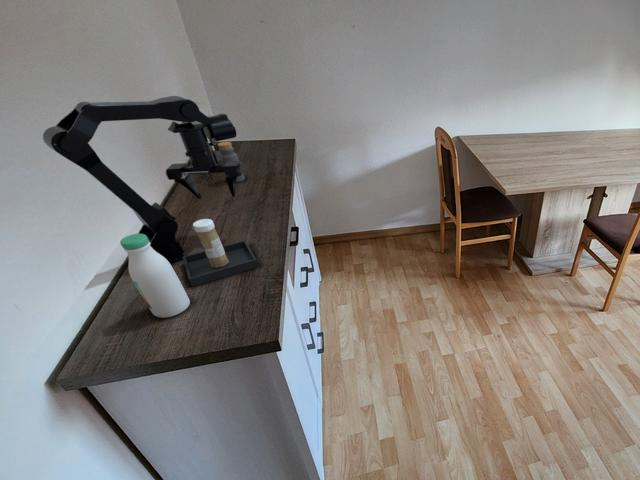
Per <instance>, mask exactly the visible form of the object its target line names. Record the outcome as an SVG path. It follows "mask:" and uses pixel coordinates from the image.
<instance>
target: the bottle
mask: <svg viewBox="0 0 640 480" xmlns="http://www.w3.org/2000/svg"><path fill="white" fill-rule="evenodd" d="M232 145H233V144H232V142H230V141H220V142H218V143H217V147H218V151H220V153H221V158H222V162H221V163H222V165H225V164H226V163H227V162H228V161H240V160H239V157H238V154H237V153H236V152H235V148H234V147H233V146H232ZM245 180H246V178H245V175H244V173H243V174H242V175H241V176H239V177H238V178H237V179H236V183H240V182H243V181H245Z"/></svg>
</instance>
